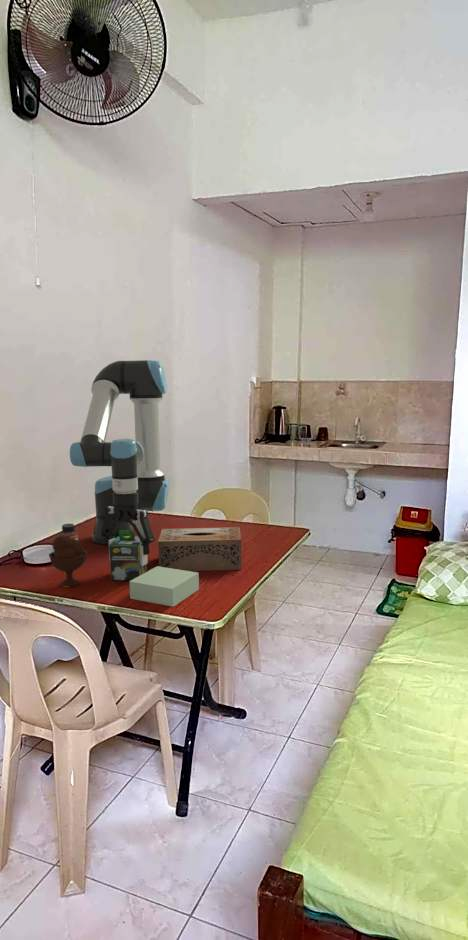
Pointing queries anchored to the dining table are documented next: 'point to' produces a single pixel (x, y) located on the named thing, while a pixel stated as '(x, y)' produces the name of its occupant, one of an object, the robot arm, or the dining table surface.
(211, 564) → the tissue box cover
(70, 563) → the ice cream bowl
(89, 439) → the robot arm
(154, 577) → the plinth
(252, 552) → the dining table surface
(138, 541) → the chalk box
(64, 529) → the supplement bottle
